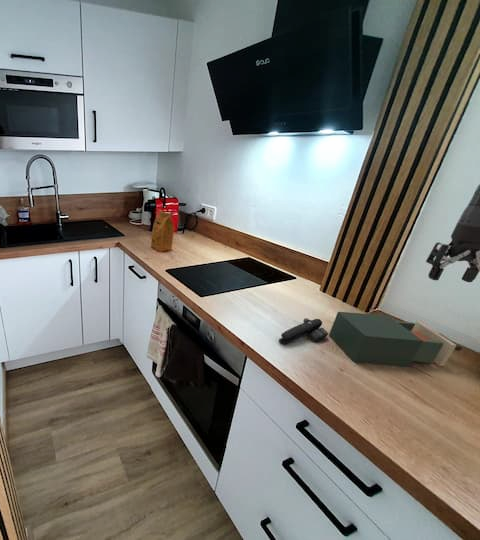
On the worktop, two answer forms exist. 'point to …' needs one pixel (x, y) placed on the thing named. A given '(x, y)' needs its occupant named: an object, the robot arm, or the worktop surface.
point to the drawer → (431, 344)
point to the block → (420, 335)
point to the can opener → (304, 331)
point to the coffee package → (162, 232)
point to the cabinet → (374, 339)
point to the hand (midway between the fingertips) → (449, 280)
